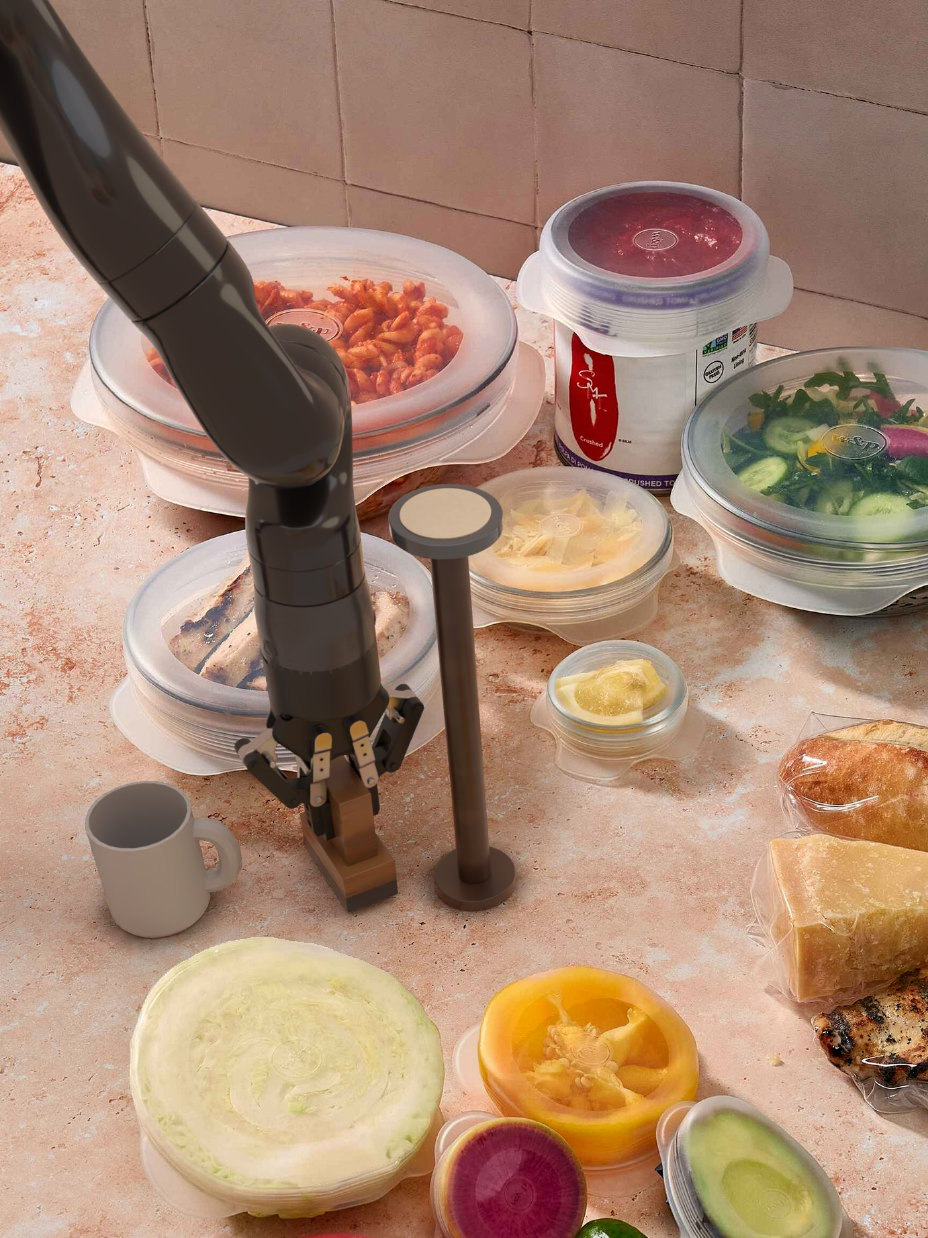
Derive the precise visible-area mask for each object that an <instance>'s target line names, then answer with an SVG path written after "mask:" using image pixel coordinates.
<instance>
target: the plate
mask: <svg viewBox="0 0 928 1238" xmlns="http://www.w3.org/2000/svg"><path fill="white" fill-rule="evenodd" d="M502 507H503V506H502V505H501V504H500V501H499V500H498V499H497V498H496V497H495V496H493V495H492V494H491V493H489V492H487V491H485V490H483V489H480V488H478V487H475V486H472V485H466V484H457V483H443V484H441V483H440V484H433V485H428V486H424V487H420V488H417V489H414V490H412V491H410V492H408V493H406V494H404V495H402V496H401V497H400V498H399V499H397V500H396V501H395V502H394V503H393V504H392V506H391V508H390V509H389V511H388V518H387V519H388V529H389V535H390V537H391V540H392V541H393V543H394V544H395V545H396V546H397V547H398V548H399V549H401V550H402V551H404V552H406V553H408V554H411V555H413V556H416V557H419V558H424V559H428V560H430V559H442V560H443V559H457V558H463V557H467V556H468V557H470V556H473V555H476V554H479V553H482V552H484V551H486V550H487V549H489V548H490V547H492V546H493V545H494V544H495V543H496V542H497V541H498V540H499V539H500V538H501V536H502V533H503V530H504V511H503V508H502Z"/></svg>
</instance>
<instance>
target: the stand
mask: <svg viewBox="0 0 928 1238" xmlns="http://www.w3.org/2000/svg"><path fill="white" fill-rule="evenodd" d="M429 566H430V575H431V587H432V596H433V609H434V619H435V630H436V641H437V643H436V644H437V652H438V662H439V663H438V665H439V674H440V675H439V677H440V686H441V698H442V707H443V708H442V709H443V718H444V731H445V742H446V753H447V763H448V775H449V782H450V783H449V786H450V795H451V808H452V819H453V830H454V840H455V849H453V850H451V851H449V852H447V853H446V854H445V855H444V856H442V857H441V858H440V860H439V861H438V862H437V864H436V865H435V868H434V872H433V881H434V888H435V889H434V890H435V892H436V894H437V895H438V897H439V899H441V900H442V901H443V902H444V903H445V904H447V905H448V906H450V907H452V908H454V909H457V910H462V911H467V912H468V911H469V912H479V911H485V910H489V909H491V908H495V907H497V906H498V905H500V904H502V903H504V902H505V901H506V900H508V898H509V897H510V896H511V895H512V893H513V892H514V890H515V887H516V882H517V878H516V868H515V867H516V866H515V864H514V861H513V860H512V859H511V857H510V856H509V855H508V854H506V853H505V852H504V851H503V850H500V849H498V848H496V847H493V846H491V845H490V839H489V827H488V812H487V798H486V797H487V796H486V783H485V769H484V757H483V755H484V754H483V744H482V743H483V741H482V729H481V713H480V700H479V686H478V685H479V684H478V672H477V659H476V645H475V644H476V643H475V629H474V618H473V617H474V616H473V603H472V602H473V601H472V589H471V587H472V586H471V573H470V560H469V556H467V557H463V558H457V559H443V560H442V559H429Z"/></svg>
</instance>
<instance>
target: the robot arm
mask: <svg viewBox="0 0 928 1238" xmlns="http://www.w3.org/2000/svg"><path fill="white" fill-rule="evenodd" d="M108 86H109V85H107V83H106V82H105V81H104V79H103V78H102V76H101V75H100V74H99V72H98V71H97V70H96V68H95V67H94V65H93V64H92V62H91V61H90V60H89V57H87V55H86V54H85V52H84V51H83V49H82V48H81V46H80V45H79V43H78V42H77V40H76V38H75V37H74V36H73V34H72V33H71V31H70V30H69V28H68V27H67V25H66V23H65V22H64V20H63V19H62V18H61V16H60V14H59V13H58V11H57V10H56V8H55V7H54V5H53V4H52V3H51V0H0V134H1V136H2V137H3V139H4V141H5V142H6V145H7V147H8V149H9V150H10V152H11V154H12V155H13V157H14V159H15V160H16V163H17V165H18V167H19V168H20V170H21V172H22V173H23V175H24V177H25V179H26V181H27V183H28V185H29V187H30V189H31V190H32V192H33V194H34V196H35V198H36V200H37V202H38V203H39V205H40V207H41V208H42V210H43V212H44V214H45V215H46V217H47V219H48V220H49V222H50V224H51V225H52V227H53V228H54V230H55V231H56V232H57V234H58V236H59V237H60V239H61V240H62V241H63V243H64V244H65V246H66V248H68V250H69V252H71V254H72V255H73V256H74V258H76V260H77V261H78V263H80V265H81V266H82V267H83V269H84V270H85V271H86V272H87V273H88V274H89V276H90V277H91V278H92V279H93V280H94V281H96V283H97V284H98V286H99V287H100V288H101V289H102V290H103V291H104V292H105V294H106V295H107V296H108V297H109V298H110V299H111V300H112V302H113V303H114V304H115V305H116V306H117V307H118V308H119V309H120V311H121V312H122V313H123V314H124V316H126V317H127V319H128V320H130V322H131V323H132V324H133V325H134V326H135V327H136V328H137V329H138V331H140V333H141V334H142V335H144V337H145V338H146V339H147V340H148V341H149V342H150V343H151V345H152V346H153V348H154V350H155V351H156V353H157V355H158V356H159V358H160V360H161V362H162V363H163V366H164V368H165V369H166V371H167V373H168V375H169V377H170V379H171V381H172V382H173V384H174V386H175V387H176V390H178V392H179V393H180V395H181V397H182V398H183V400H184V402H185V404H186V405H187V406H188V407H189V410H190V412H191V413H192V415H193V417H194V418H195V419H196V421H197V423H198V424H199V426H200V427H201V429H202V431H203V432H204V433H205V435H206V436H207V438H208V439H209V440H210V442H211V443H212V444H213V446H214V447H215V448H216V449H217V451H218V452H219V453H220V454H221V456H223V458H224V459H225V460H226V461H228V463H230V464H231V466H232V467H234V468H235V469H237V470H238V471H239V472H240V473H241V474H243V475H244V476H246V477H247V480H248V491H247V500H246V505H245V516H244V517H245V518H244V521H245V523H244V526H245V527H244V528H245V538H246V545H247V553H248V558H249V564H250V571H251V576H252V582H253V604H254V605H253V607H254V608H253V609H254V618H255V624H256V630H257V635H258V636H257V637H258V641H259V647H260V654H261V659H262V665H263V672H264V676H265V682H266V683H265V684H266V689H267V695H268V700H269V705H270V707H269V712H268V715H267V717H266V719H265V727H266V728H265V729H264V730H263V731H261V733H259V734H258V735H257V736H255V737H254V738H253V739H252V740H251V739H250V738H247V737H242V738H239V739H238V740H237V741H236V742H235V743H234V746H233V749H234V751H235V752H236V754H237V755H238V758H239V759H240V760H241V762H242V763H243V765H244V766H245V768H246V770H247V771H248V772H249V773H250V774H251V775H252V776H253V777H254V778H255V779H256V780H257V781H259V782H260V783H261V785H263V787H265V788H266V789H267V790H268V791H269V792H270V793H271V794H272V795H273V796H274V797H275V798H277V799H278V800H279V801H280V802H281V803H282V804H283V805H284V806H285V807H286V808H287V809H290V810H295V809H296V808H298V807H299V806H300V805H301V804H303V808H304V809H303V810H304V812H305V815H306V821H307V823H308V824H309V826H310V827H311V829H312V830H313V832H314V833H315V834H316V836H317V837H319V836H321V835H322V837H323V838H324V840H325V841H328V840H331V839H333V838H335V833H334V826H333V819H332V812H331V805H330V802H329V800H328V799H327V780H329V779H330V761H332V760H334V759H335V758H337V757H339V756H344V757H345V756H346V760H347V761H348V762H349V764H350V765H351V767H352V768H353V769H354V771H355V772H356V774H357V775H358V776H359V778H360V779H361V781H362V782H363V783H364V785H365V786H366V788H367V789H368V790H369V792H370V793H371V800H372V808H373V816H374V817H375V816H377V815H379V813H380V810H381V805H380V797H379V787H378V783H379V781H380V778H381V776H382V775H384V774H385V773H387V772H388V773H390V774H391V773H395V772H397V771H398V770H400V768H401V766H402V764H403V761H404V760H405V756H406V754H407V751H408V749H409V747H410V744H411V742H412V740H413V738H414V735H415V732H416V730H417V728H418V725H419V722H420V720H421V718H422V715H423V713H424V710H425V705H424V703H423V702H422V701H421V700H420V698H419V697H418V695H417V694H416V693H415V692H414V691H413V689H412V688H411V687H410V685H408V684H407V683H400V684H398V685H397V686H396V687H395V688H394V689H388V688H385V687H384V686H383V684H382V675H381V668H380V659H379V650H378V642H377V641H378V640H377V632H376V622H377V616H376V612H375V608H374V605H373V598H372V594H371V593H372V592H371V589H370V586H369V582H368V579H367V575H366V570H365V562H364V553H363V545H362V543H363V542H362V538H361V537H362V534H361V528H360V527H361V526H360V522H359V517H358V513H357V512H358V511H357V506H356V499H355V492H354V441H353V438H354V437H353V435H354V434H353V414H352V413H353V411H352V409H353V408H352V395H351V387H350V382H349V381H350V380H349V375H348V372H347V368H346V366H345V364H344V362H343V360H342V358H341V357H340V355H339V353H338V352H337V351H336V349H335V348H334V347H333V346H332V344H330V342H329V341H328V340H327V339H326V338H324V337H323V336H322V335H321V334H319V333H318V332H316V331H314V330H312V329H311V328H308V327H305V326H303V325H299V324H294V323H277V324H272V325H268V323H267V322H266V321H265V319H264V317H263V315H262V313H261V311H260V309H259V306H258V302H257V297H256V290H255V284H254V280H253V277H252V274H251V271H250V269H249V268H248V266H247V264H246V263H245V261H244V260H243V258H242V257H241V255H240V254H239V253H238V251H237V250H236V248H235V247H234V246H233V244H232V243H231V242H230V240H228V239H227V237H226V235H225V234H224V233H223V232H222V230H221V229H220V228H219V227H218V226H217V224H216V223H215V222H214V221H213V219H212V218H211V217H210V216H209V214H208V213H207V212H206V211H205V210H204V208H203V207H202V205H201V204H200V203H199V202H198V201H197V200H196V198H195V197H194V196H193V194H192V193H191V192H190V191H189V190H188V189H187V187H186V186H185V185H184V183H183V182H182V181H181V180H180V179H179V178H178V176H177V175H176V174H175V173H174V171H173V170H172V169H171V167H169V165H168V164H167V163H166V161H165V160H164V159H163V158H162V156H161V155H160V154H159V152H158V151H157V150H156V149H155V147H153V145H152V144H151V142H150V141H149V140H148V138H147V137H146V136H145V135H144V133H143V132H142V131H141V129H140V128H139V127H138V126H137V124H136V122H134V120H133V119H132V118H131V117H130V115H129V114H128V113H127V111H126V110H125V108H124V107H123V106H122V104H121V103H120V101H119V100H118V99H117V97H116V96H115V95H114V93H113V92H112V90H111V89H110V87H108ZM382 717H383V718H382ZM381 719H382V720H381ZM380 720H381V722H380ZM379 722H380V725H379V727H378V730H377V732H376V735H375V738H374V740H373V743H372V742H371V739H370V738H371V736H372V734H373V732H374V731H375V729H376V728H377V725H378V724H379ZM278 745H280V746H282V747H283V748H285V749H286V750H288V751H289V752H290V753H292V754H294V759H295V761H296V772H297V773H296V777H289V776H288V775H286V774H285V773H284V771H283V770H281V768H279V766H278V765H277V761H278V754H277V753H276V748H277V746H278Z"/></svg>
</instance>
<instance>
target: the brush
mask: <svg viewBox="0 0 928 1238" xmlns="http://www.w3.org/2000/svg"><path fill="white" fill-rule="evenodd" d="M327 799H328V800H329V802H330V805H331V812H332V819H333V826H334V833H335V838H333V839H331V840H328V841H325V840H324V838H323V837H322V835H321V836H319V837H317V836H316V834H315V833H314V832H313V830H312V829H311V827H310V826H309V824H308V823H307V821H306V815H305V811H302V812H300V813H299V818H300V819H299V820H300V825H301V832H302V837H303V843H304V848H305V849H306V851H307V852H308V854H309V856H310V857H311V859H312V860H313V862H314V864H316V867H317V868H318V870H319V871H320V872H321V875H323V878H324V879H325V880H326V882H327V883H328V885H329V887H330V888H331V890H332V892H334V894H335V895H336V898H337V899H338V900H339V902H340V903H341V904H342V906H343V908H344V910H345V911H346V912H347V914H351V913H353V912H356V911H359V910H361V909H363V908H366V907H368V906H371V905H373V904H376V903H378V902H381V901H383V900H385V899H388V898H391V897H394V896H396V895H398V894H399V887H398V886H399V885H398V878H397V869H396V860H395V857H393V855H392V854H391V852H390V851H389V850H388V848H387V847H386V845H385V844H384V843H383V841H382V839H381V838H380V836H379V835H378V834H377V832H376V824H375V816H373V808H372V800H371V793H370V792H369V790H368V789H367V788H366V786H365V785H364V783H363V782H362V781H361V779H360V778H359V776H358V775H357V774H356V772H355V771H354V769H353V768H352V767H351V765H350V764H349V762H348V759H347V757H345V755H344V756H339V757H337V758H335V759H334V760H332V761H330V779H329V780H327Z"/></svg>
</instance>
